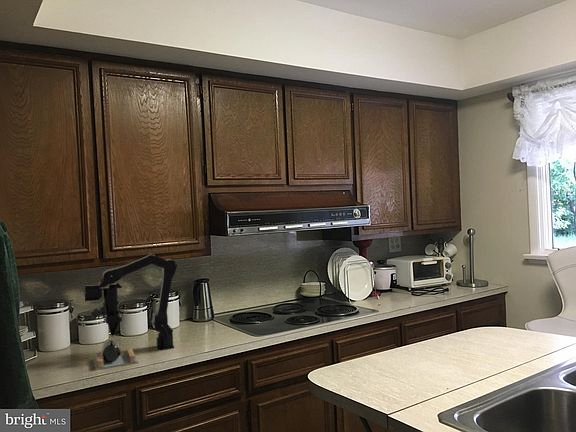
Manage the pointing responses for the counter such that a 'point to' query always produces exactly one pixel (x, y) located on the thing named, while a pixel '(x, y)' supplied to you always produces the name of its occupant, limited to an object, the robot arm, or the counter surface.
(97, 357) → the cradle rails
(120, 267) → the robot arm
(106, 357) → the supplement bottle
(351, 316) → the counter surface
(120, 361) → the rubber mat
